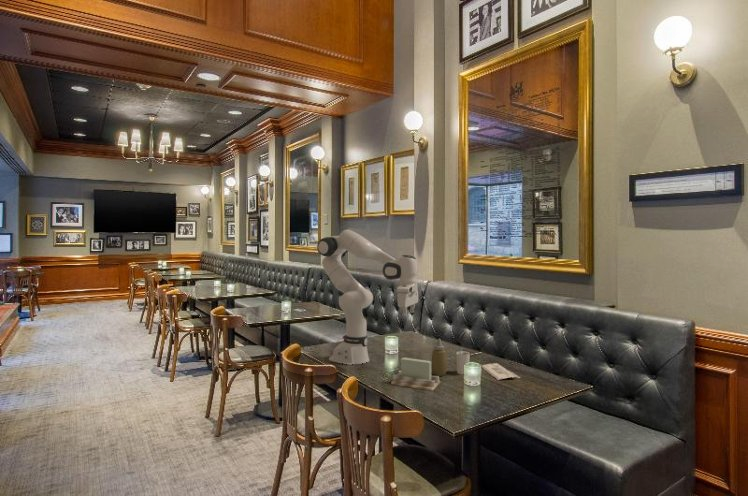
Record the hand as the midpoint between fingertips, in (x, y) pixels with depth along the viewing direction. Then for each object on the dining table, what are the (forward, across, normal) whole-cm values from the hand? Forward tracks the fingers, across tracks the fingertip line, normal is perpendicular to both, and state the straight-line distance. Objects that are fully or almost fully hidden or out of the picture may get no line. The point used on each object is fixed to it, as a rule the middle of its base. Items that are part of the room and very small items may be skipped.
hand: (408, 314), depth 225 cm
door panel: (+28, +16, +10) cm, 34 cm away
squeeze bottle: (+29, -1, +16) cm, 33 cm away
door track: (+29, +16, +10) cm, 35 cm away
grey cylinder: (+29, -9, +26) cm, 40 cm away
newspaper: (+30, -18, +43) cm, 55 cm away
